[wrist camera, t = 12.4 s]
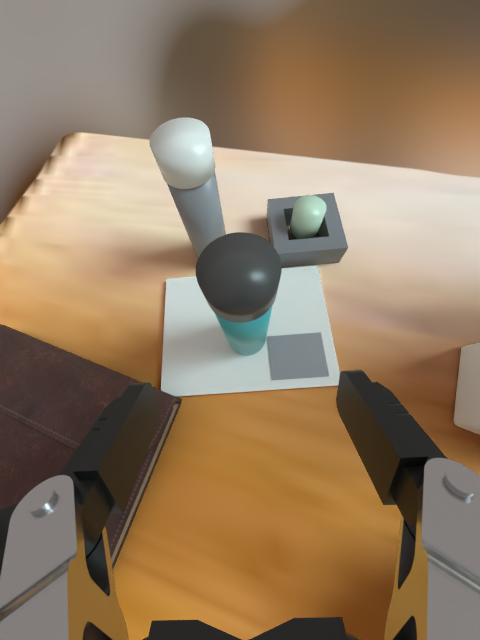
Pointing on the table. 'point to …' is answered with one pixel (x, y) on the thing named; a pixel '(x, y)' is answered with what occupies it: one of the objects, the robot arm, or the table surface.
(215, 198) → the grey marker
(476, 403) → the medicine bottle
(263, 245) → the marker
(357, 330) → the table surface
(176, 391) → the sheet
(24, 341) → the notebook
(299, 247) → the button housing
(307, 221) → the button
